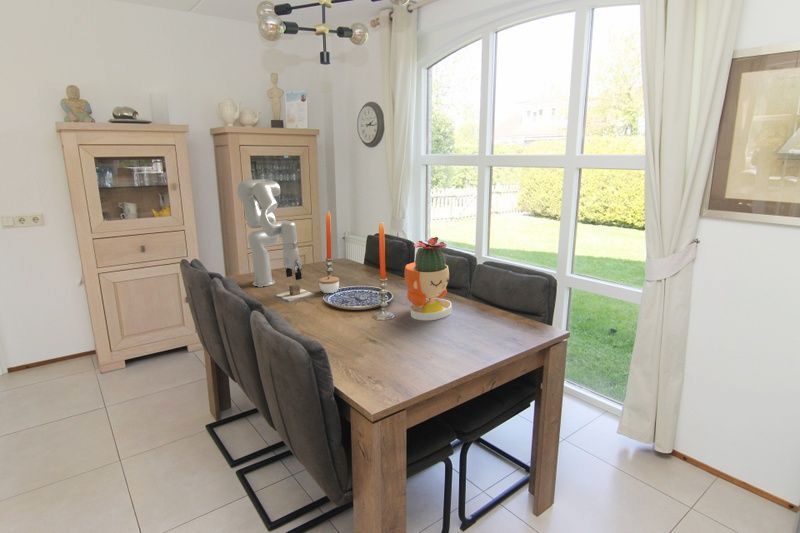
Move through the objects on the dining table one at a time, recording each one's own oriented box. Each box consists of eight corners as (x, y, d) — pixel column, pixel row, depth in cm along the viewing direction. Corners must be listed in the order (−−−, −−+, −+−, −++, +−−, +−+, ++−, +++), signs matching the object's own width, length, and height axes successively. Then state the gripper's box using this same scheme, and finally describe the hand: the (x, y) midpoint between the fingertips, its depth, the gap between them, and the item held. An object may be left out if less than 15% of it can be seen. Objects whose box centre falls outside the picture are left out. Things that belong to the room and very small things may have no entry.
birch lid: (275, 295, 243) (274, 285, 242) (300, 289, 253) (299, 279, 252) (289, 302, 232) (288, 291, 231) (314, 295, 242) (313, 284, 241)
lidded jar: (341, 289, 251) (340, 273, 249) (337, 296, 241) (336, 278, 238) (322, 289, 252) (321, 273, 250) (317, 296, 242) (316, 279, 240)
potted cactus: (460, 309, 214) (459, 236, 205) (429, 324, 198) (428, 245, 189) (424, 300, 228) (423, 231, 219) (393, 313, 212) (390, 239, 204)
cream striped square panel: (271, 296, 244) (271, 295, 244) (301, 289, 255) (301, 288, 255) (288, 304, 231) (288, 303, 230) (318, 295, 242) (318, 295, 242)
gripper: (276, 245, 240) (279, 277, 244) (292, 249, 227) (295, 282, 231) (288, 243, 245) (292, 274, 249) (305, 246, 232) (308, 279, 236)
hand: (294, 278), depth 240 cm, fingers open, 9 cm apart
